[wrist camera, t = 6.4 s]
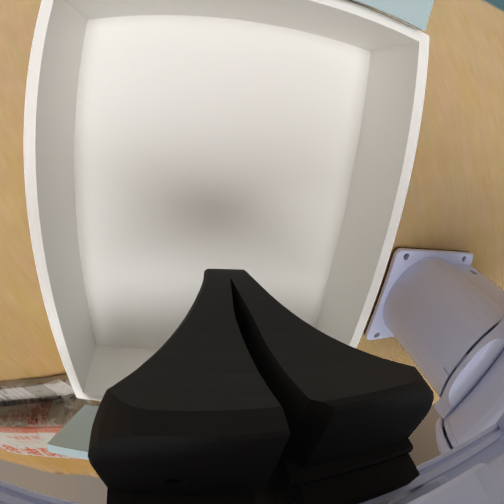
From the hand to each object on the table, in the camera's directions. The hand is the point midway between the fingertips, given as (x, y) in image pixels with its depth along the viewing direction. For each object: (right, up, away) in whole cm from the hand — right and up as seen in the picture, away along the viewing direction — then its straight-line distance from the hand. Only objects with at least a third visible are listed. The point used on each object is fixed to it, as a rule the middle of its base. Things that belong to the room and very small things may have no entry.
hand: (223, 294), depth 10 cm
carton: (-1, +4, +6) cm, 7 cm away
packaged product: (-21, -14, +12) cm, 28 cm away
